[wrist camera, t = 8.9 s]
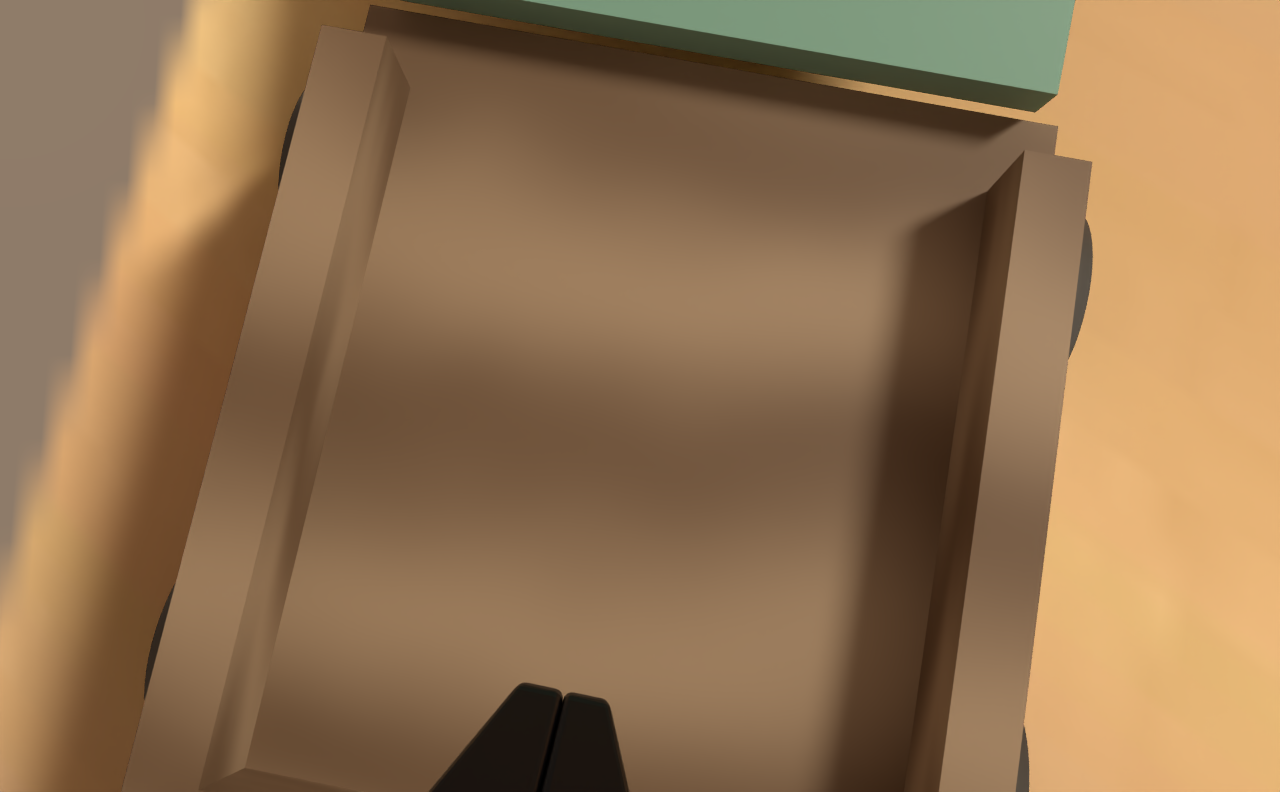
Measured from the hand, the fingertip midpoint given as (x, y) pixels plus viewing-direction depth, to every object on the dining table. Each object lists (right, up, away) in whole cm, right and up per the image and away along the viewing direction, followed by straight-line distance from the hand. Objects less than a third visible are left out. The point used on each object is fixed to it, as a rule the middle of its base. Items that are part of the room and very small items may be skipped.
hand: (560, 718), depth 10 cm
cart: (+1, +1, +14) cm, 14 cm away
